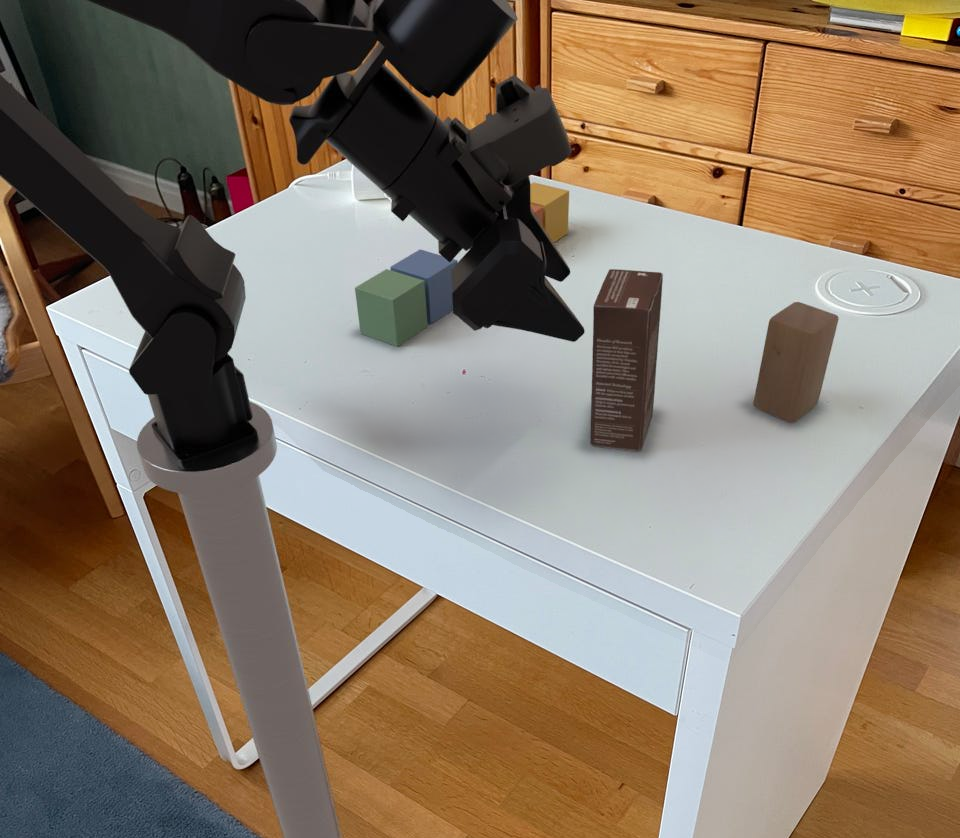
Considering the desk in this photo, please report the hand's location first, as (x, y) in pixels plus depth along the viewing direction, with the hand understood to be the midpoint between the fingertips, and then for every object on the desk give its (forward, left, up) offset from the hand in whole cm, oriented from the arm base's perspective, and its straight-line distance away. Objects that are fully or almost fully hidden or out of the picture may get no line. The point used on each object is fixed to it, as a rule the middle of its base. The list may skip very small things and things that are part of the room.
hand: (572, 305), depth 71 cm
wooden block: (+17, -8, -11) cm, 21 cm away
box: (+4, -2, -11) cm, 12 cm away
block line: (+9, +27, -11) cm, 31 cm away
